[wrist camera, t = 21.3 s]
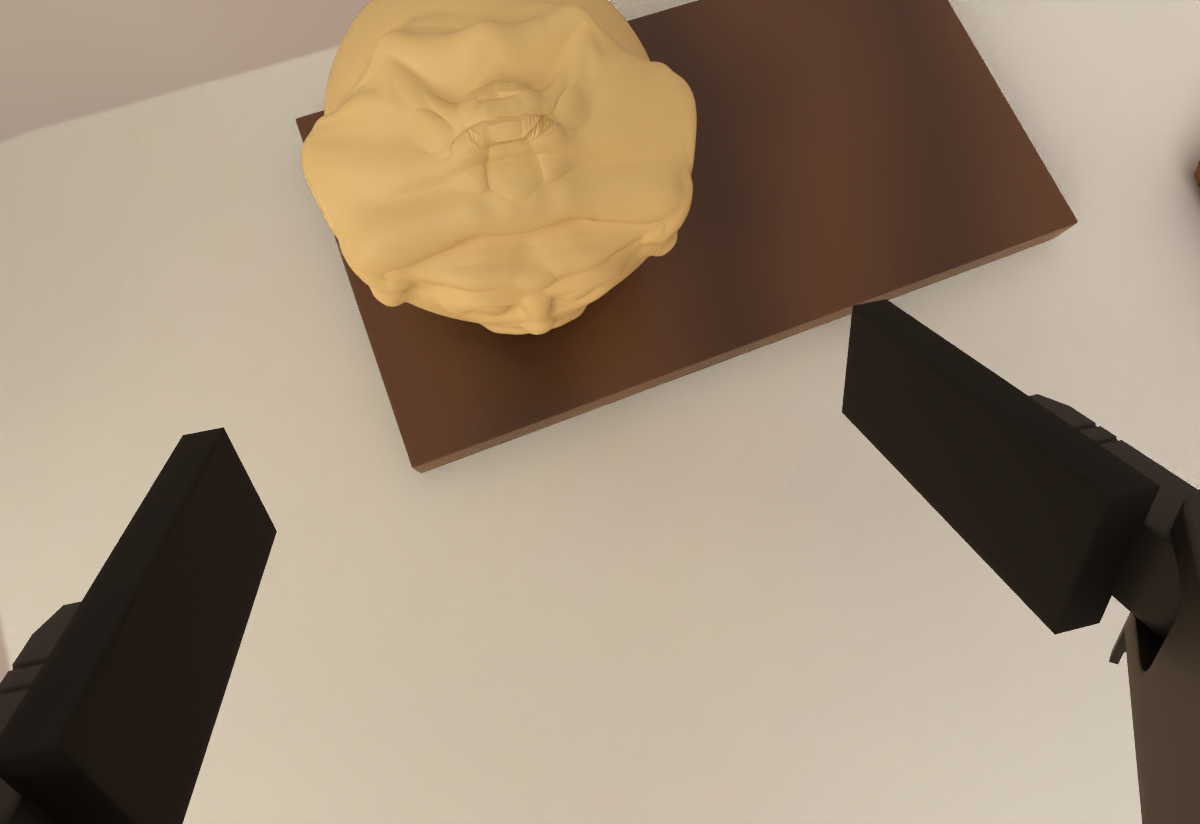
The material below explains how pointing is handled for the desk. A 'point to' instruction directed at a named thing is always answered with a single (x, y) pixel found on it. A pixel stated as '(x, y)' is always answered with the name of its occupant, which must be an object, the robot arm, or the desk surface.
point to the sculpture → (500, 156)
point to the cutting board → (754, 215)
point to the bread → (1198, 174)
